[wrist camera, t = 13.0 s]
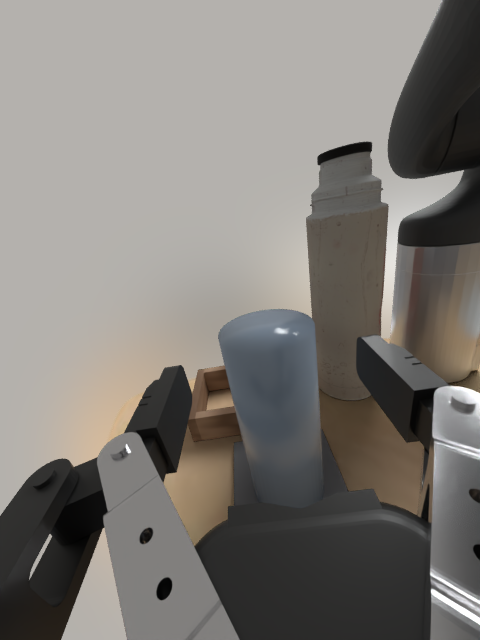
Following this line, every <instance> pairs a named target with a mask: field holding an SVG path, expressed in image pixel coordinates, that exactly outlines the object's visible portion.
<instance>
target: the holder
mask: <svg viewBox="0 0 480 640" xmlns="http://www.w3.org/2000/svg"><path fill="white" fill-rule="evenodd" d="M226 388H230V386H229V381H228V377H227V373H226V369H225V366H219V367H214V368H207V369H200V370H198V373H197V377H196V381H195V386H194V390H193V394H192V407H191V411H190V415H189V420H188V426H189V429H190V432H191V434H192V437H193V440H194V442H195V441H202V440H208V439H215V438H222V437H228V436H235V435H241V432H240V428H239V424H238V420H237V415H236V411H235V407H234V406H233V407H227V408H220V409H214V410H208V411H206V409H207V402H208V394H209V391H214V390H220V389H226Z"/></svg>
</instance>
